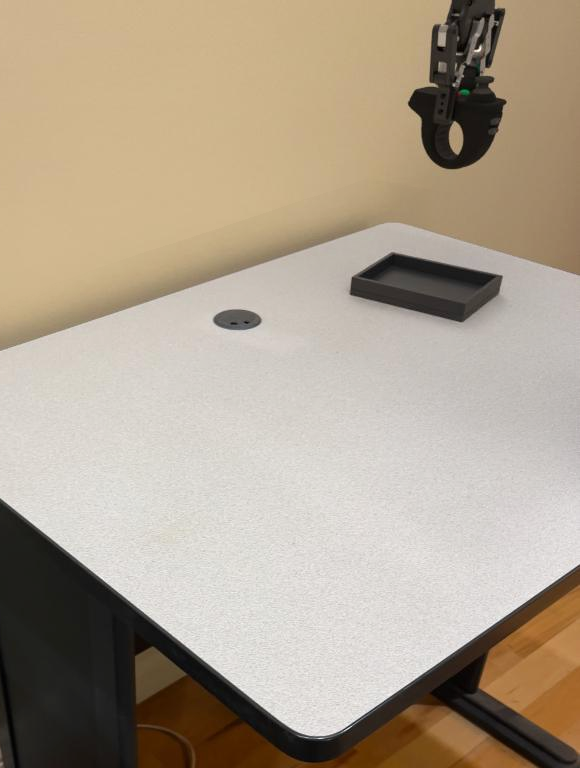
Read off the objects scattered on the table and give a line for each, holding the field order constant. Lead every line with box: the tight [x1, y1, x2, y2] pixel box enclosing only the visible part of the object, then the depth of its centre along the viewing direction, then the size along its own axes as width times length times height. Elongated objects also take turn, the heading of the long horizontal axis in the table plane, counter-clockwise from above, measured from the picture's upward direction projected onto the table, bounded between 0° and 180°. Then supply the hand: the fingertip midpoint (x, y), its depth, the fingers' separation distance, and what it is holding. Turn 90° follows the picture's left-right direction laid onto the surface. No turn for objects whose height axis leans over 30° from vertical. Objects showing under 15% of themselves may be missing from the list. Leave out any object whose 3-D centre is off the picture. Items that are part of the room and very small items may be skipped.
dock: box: [349, 251, 504, 323], centre depth 120 cm, size 16×11×2 cm
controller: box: [407, 75, 508, 170], centre depth 106 cm, size 4×12×10 cm, turn 33°
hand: (453, 117), depth 106 cm, fingers closed on controller, 5 cm apart
